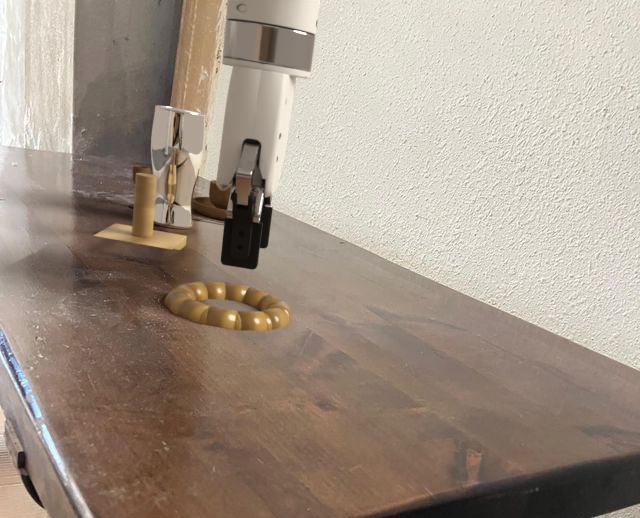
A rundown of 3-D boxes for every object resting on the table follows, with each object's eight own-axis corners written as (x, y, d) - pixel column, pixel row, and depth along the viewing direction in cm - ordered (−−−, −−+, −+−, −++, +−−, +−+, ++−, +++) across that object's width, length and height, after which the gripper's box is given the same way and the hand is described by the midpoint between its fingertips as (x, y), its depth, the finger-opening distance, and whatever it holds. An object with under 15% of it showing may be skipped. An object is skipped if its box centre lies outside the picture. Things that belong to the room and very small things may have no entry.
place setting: (260, 231, 111) (265, 191, 108) (126, 207, 110) (128, 166, 107) (270, 214, 127) (275, 179, 124) (153, 193, 126) (155, 157, 123)
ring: (151, 328, 62) (153, 301, 61) (178, 296, 72) (181, 271, 71) (283, 351, 63) (288, 324, 62) (292, 316, 73) (296, 292, 72)
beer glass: (135, 217, 104) (143, 102, 98) (178, 218, 109) (188, 109, 103) (162, 229, 100) (172, 110, 94) (205, 230, 105) (217, 116, 99)
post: (92, 245, 85) (95, 171, 82) (114, 232, 93) (118, 164, 90) (170, 259, 85) (177, 186, 82) (185, 245, 94) (192, 178, 90)
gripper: (237, 51, 70) (219, 233, 77) (206, 38, 55) (187, 269, 61) (315, 64, 71) (291, 245, 78) (307, 55, 55) (277, 283, 62)
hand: (245, 255), depth 69 cm, fingers open, 9 cm apart
